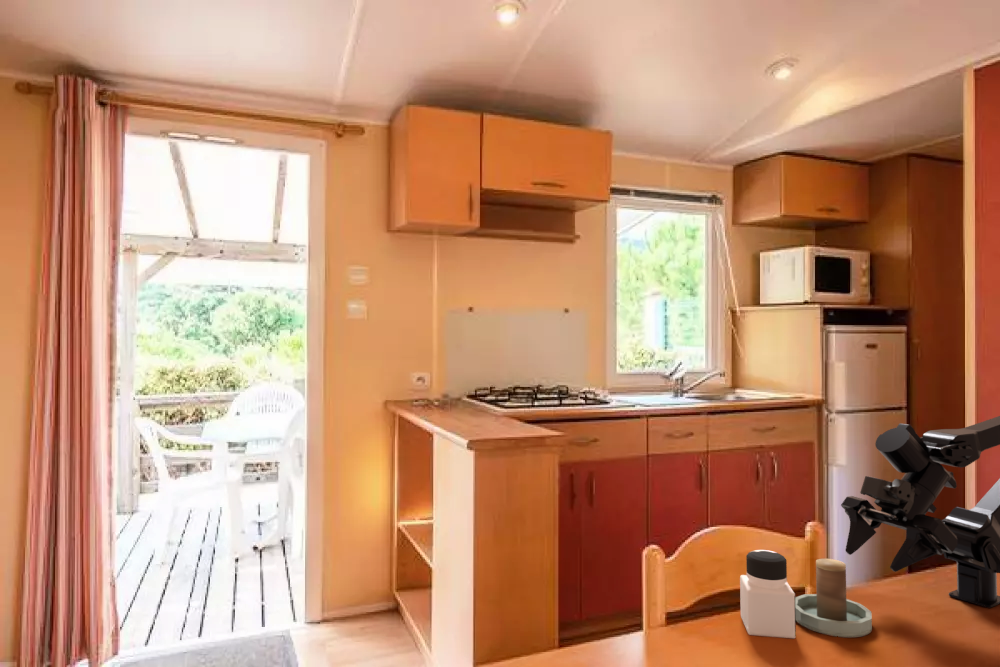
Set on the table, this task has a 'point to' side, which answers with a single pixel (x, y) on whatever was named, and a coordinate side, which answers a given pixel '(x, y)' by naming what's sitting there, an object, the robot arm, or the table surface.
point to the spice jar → (831, 589)
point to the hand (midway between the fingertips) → (869, 561)
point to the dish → (853, 627)
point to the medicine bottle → (767, 596)
